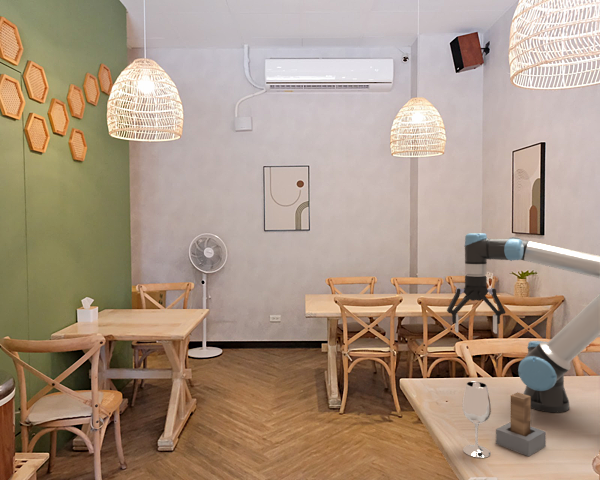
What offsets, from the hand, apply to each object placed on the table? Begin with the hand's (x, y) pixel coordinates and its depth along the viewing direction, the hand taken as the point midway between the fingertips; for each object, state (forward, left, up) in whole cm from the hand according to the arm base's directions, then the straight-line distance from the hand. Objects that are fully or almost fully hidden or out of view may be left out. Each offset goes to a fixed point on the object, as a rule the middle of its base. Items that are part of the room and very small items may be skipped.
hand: (475, 332), depth 172 cm
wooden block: (-6, +32, -26) cm, 41 cm away
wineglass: (+8, +38, -27) cm, 47 cm away
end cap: (-6, +32, -27) cm, 42 cm away
